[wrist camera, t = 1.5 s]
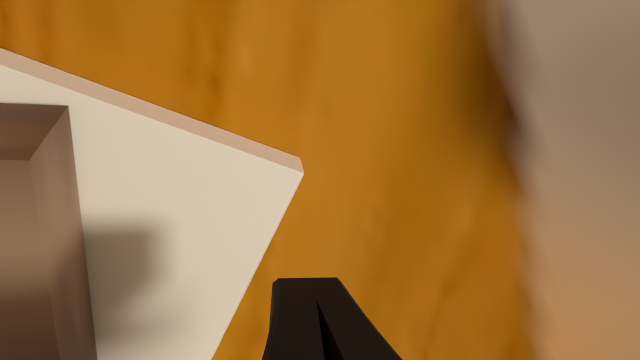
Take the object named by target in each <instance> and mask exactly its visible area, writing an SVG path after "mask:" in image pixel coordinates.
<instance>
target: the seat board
mask: <svg viewBox="0 0 640 360" xmlns="http://www.w3.org/2000/svg"><path fill="white" fill-rule="evenodd" d="M0 103H12V104H39V105H66V106H69V115H70V124H71V132H72V141H73V150H74V159H75V167H76V176H77V185H78V194H79V202H80V211H81V220H82V229H83V237H84V246H85V255H86V264H87V272H88V281H89V290H90V299H91V307H92V316H93V325H94V334H95V342H96V351H97V360H211V359H212V357H213V355H214V353H215V351H216V349H217V347H218V345H219V343H220V341H221V339H222V337H223V335H224V333H225V331H226V329H227V327H228V325H229V323H230V321H231V319H232V317H233V315H234V313H235V311H236V309H237V307H238V305H239V303H240V301H241V299H242V297H243V295H244V293H245V291H246V289H247V287H248V285H249V283H250V281H251V279H252V277H253V275H254V273H255V271H256V269H257V267H258V265H259V263H260V261H261V259H262V257H263V255H264V253H265V251H266V249H267V247H268V245H269V243H270V241H271V239H272V237H273V235H274V233H275V231H276V229H277V227H278V225H279V223H280V221H281V219H282V217H283V215H284V213H285V211H286V209H287V207H288V205H289V203H290V201H291V199H292V197H293V195H294V193H295V191H296V189H297V187H298V185H299V183H300V181H301V179H302V177H303V175H304V171H303V167H302V164H301V160H300V158H299V157H296V156H294V155H291V154H288V153H285V152H283V151H280V150H277V149H275V148H272V147H269V146H266V145H264V144H261V143H258V142H255V141H253V140H250V139H247V138H245V137H242V136H239V135H236V134H234V133H231V132H228V131H225V130H223V129H220V128H217V127H214V126H212V125H209V124H206V123H204V122H201V121H198V120H195V119H193V118H190V117H187V116H184V115H182V114H179V113H176V112H174V111H171V110H168V109H165V108H163V107H160V106H157V105H154V104H152V103H149V102H146V101H144V100H141V99H138V98H135V97H133V96H130V95H127V94H124V93H122V92H119V91H116V90H114V89H111V88H108V87H105V86H103V85H100V84H97V83H94V82H92V81H89V80H86V79H84V78H81V77H78V76H75V75H73V74H70V73H67V72H64V71H62V70H59V69H56V68H54V67H51V66H48V65H45V64H43V63H40V62H37V61H34V60H32V59H29V58H26V57H24V56H21V55H18V54H15V53H13V52H10V51H7V50H4V49H2V48H0Z"/></svg>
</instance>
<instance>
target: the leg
mask: <svg viewBox="0 0 640 360" xmlns="http://www.w3.org/2000/svg"><path fill="white" fill-rule="evenodd" d="M0 360H97V351H96V342H95V334H94V325H93V316H92V307H91V299H90V290H89V281H88V272H87V264H86V255H85V246H84V237H83V229H82V220H81V211H80V202H79V194H78V185H77V176H76V167H75V159H74V150H73V141H72V132H71V124H70V115H69V106H66V105H39V104H12V103H0Z"/></svg>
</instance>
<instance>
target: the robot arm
mask: <svg viewBox="0 0 640 360" xmlns="http://www.w3.org/2000/svg"><path fill="white" fill-rule="evenodd" d="M262 360H402V359H401V358H400V356H399V355H398V354H397V353H396V352H395V351H394V350H393V348H392V347H391V346H390V345H389V344H388V342H387V341H386V340H385V339H384V338H383V336H382V335H381V334H380V333H379V332H378V330H377V329H376V328H375V327H374V325H373V324H372V323H371V322H370V320H369V319H368V318H367V316H366V315H365V314H364V313H363V311H362V310H361V309H360V307H359V306H358V305H357V303H356V302H355V301H354V299H353V298H352V296H351V295H350V294H349V292H348V291H347V290H346V288H345V287H344V285H343V284H342V283H341V281H340V280H339V279H338V278H278V279H277V280H276V281H275V282H273V285H272V299H271V313H270V327H269V335H268V339H267V343H266V347H265V351H264V355H263V358H262Z"/></svg>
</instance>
